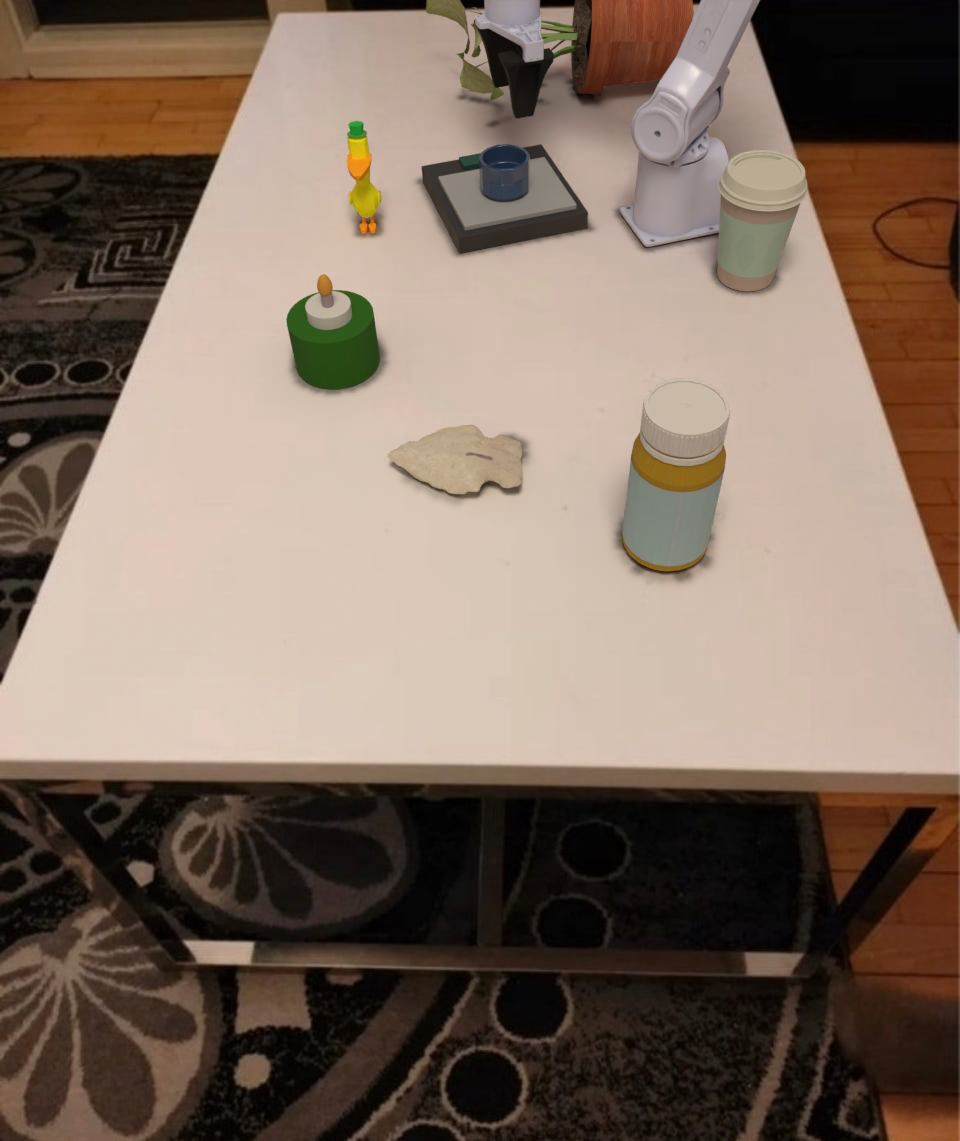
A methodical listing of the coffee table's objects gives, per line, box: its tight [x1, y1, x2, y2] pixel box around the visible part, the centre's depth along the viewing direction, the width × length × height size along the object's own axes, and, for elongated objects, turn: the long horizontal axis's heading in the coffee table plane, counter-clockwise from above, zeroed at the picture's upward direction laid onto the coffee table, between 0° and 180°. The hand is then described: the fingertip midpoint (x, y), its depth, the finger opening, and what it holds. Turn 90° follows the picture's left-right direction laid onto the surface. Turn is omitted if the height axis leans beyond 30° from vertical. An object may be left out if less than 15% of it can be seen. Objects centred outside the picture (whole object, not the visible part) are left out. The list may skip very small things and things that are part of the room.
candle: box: [285, 273, 381, 390], centre depth 96 cm, size 8×8×10 cm
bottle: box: [621, 377, 731, 572], centre depth 78 cm, size 7×7×15 cm
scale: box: [421, 143, 589, 254], centre depth 116 cm, size 15×16×3 cm
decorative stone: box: [387, 424, 523, 495], centre depth 89 cm, size 8×12×3 cm
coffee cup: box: [716, 149, 808, 292], centre depth 102 cm, size 9×9×12 cm
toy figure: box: [346, 120, 382, 235], centre depth 110 cm, size 7×4×12 cm, turn 1°
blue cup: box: [479, 143, 530, 202], centre depth 113 cm, size 6×6×4 cm
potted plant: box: [425, 0, 695, 101], centre depth 129 cm, size 16×15×35 cm
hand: (513, 100), depth 114 cm, fingers open, 7 cm apart
